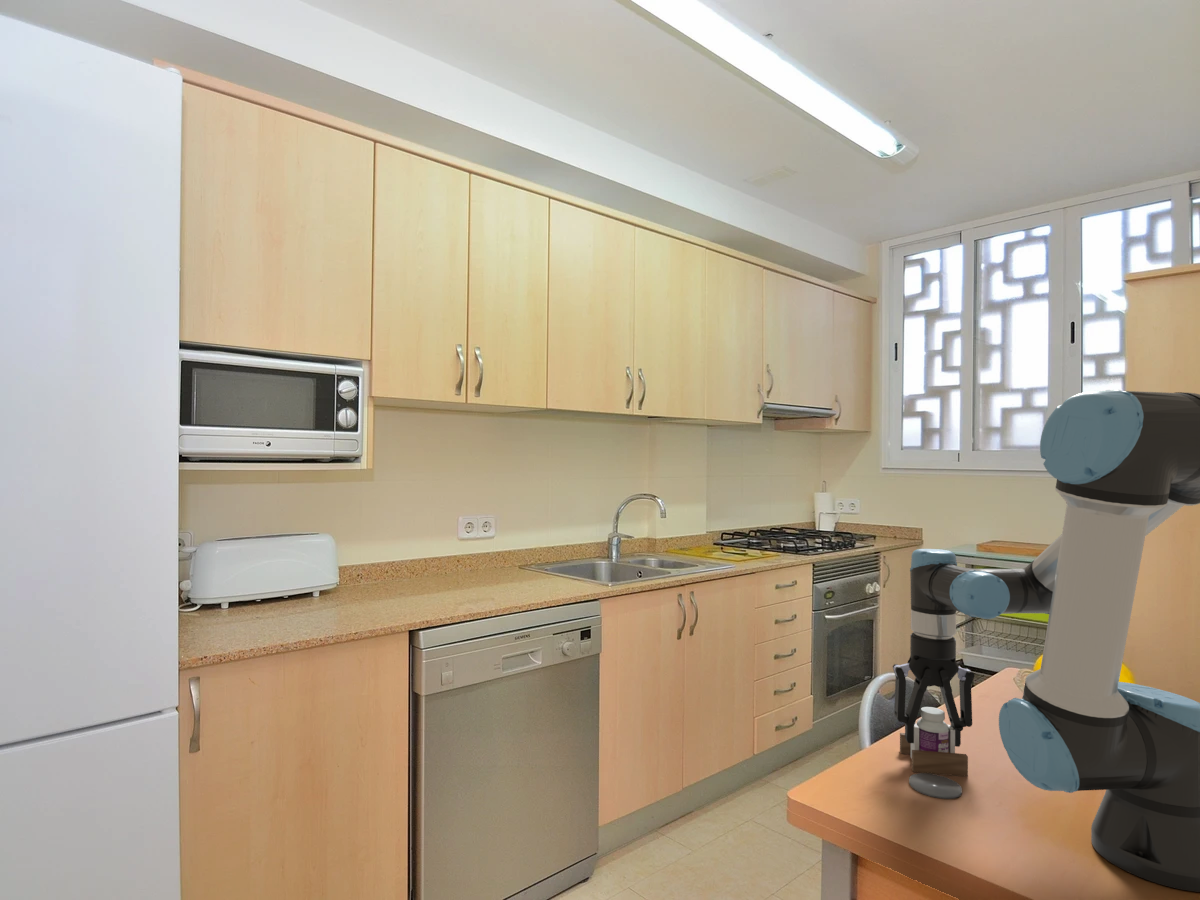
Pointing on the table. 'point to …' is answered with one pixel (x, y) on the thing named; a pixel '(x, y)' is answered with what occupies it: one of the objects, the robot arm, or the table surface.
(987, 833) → the table surface
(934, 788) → the coaster
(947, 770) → the rail cradle
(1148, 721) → the robot arm
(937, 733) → the pill bottle
